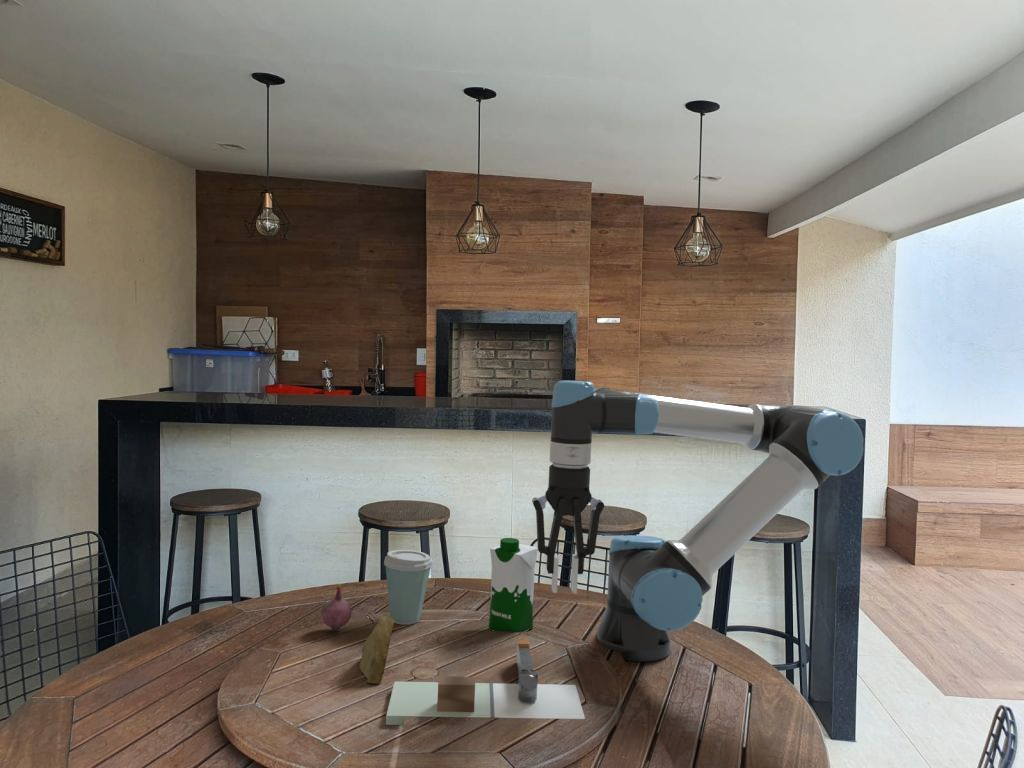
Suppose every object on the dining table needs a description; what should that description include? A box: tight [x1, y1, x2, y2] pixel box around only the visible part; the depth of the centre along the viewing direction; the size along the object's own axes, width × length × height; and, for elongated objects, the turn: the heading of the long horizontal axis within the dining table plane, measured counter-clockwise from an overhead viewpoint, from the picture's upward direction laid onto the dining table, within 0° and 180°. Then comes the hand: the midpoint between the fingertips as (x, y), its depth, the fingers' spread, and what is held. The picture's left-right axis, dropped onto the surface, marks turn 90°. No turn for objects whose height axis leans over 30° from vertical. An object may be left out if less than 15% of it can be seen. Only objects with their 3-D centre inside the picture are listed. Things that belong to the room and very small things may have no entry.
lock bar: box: [516, 636, 539, 702], centre depth 132 cm, size 17×3×5 cm, turn 3°
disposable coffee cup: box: [383, 549, 433, 626], centre depth 163 cm, size 11×11×15 cm
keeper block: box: [437, 675, 476, 712], centre depth 122 cm, size 6×3×4 cm, turn 93°
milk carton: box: [488, 537, 539, 633], centre depth 160 cm, size 9×9×20 cm
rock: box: [358, 614, 394, 684], centre depth 137 cm, size 11×9×10 cm
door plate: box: [385, 681, 586, 726], centre depth 125 cm, size 32×12×2 cm, turn 93°
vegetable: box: [320, 582, 353, 631], centre depth 155 cm, size 6×6×10 cm
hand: (564, 590), depth 137 cm, fingers open, 3 cm apart
